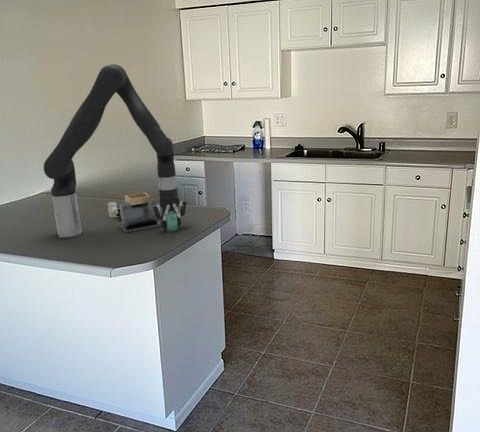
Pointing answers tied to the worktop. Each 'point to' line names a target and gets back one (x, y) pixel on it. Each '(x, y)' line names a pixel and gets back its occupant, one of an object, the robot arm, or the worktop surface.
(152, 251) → the worktop surface
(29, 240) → the worktop surface
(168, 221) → the mint green rounded block
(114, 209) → the valve
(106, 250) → the worktop surface
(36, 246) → the worktop surface
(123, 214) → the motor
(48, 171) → the robot arm
